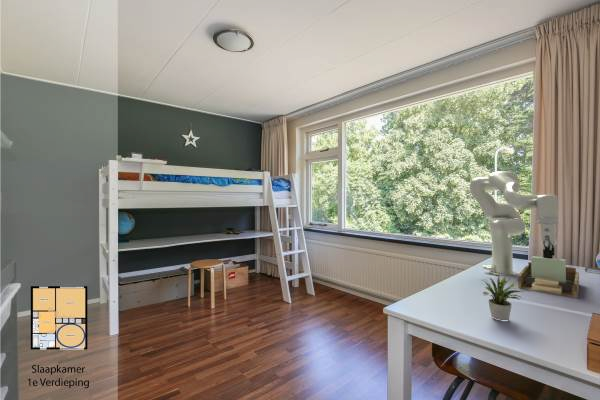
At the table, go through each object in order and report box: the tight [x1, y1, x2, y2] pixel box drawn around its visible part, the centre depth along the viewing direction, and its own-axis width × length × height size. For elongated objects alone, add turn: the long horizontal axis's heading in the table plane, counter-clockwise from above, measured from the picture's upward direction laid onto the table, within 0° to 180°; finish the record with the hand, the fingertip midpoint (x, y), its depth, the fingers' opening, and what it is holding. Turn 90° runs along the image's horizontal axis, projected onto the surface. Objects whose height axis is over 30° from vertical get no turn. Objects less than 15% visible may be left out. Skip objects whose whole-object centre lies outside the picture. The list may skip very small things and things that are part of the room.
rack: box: [517, 261, 580, 299], centre depth 134 cm, size 25×20×9 cm
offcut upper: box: [535, 278, 559, 289], centre depth 127 cm, size 4×8×2 cm, turn 44°
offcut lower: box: [532, 282, 562, 296], centre depth 127 cm, size 6×10×2 cm, turn 44°
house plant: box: [481, 275, 523, 321], centre depth 102 cm, size 14×14×16 cm
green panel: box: [530, 255, 567, 283], centre depth 132 cm, size 3×12×14 cm, turn 44°
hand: (549, 256), depth 131 cm, fingers open, 9 cm apart
